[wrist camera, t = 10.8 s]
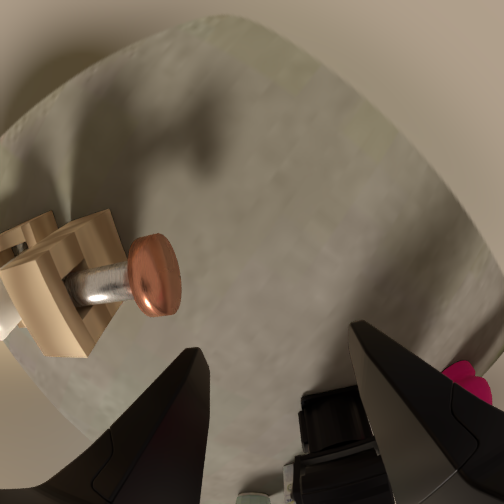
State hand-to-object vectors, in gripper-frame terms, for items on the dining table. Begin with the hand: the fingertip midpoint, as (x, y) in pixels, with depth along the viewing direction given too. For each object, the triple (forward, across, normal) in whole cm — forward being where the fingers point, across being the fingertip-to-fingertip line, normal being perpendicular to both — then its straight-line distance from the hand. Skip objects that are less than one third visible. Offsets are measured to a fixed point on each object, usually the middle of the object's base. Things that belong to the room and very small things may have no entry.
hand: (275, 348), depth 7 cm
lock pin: (+8, +9, 0) cm, 12 cm away
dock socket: (+12, +18, 0) cm, 21 cm away
